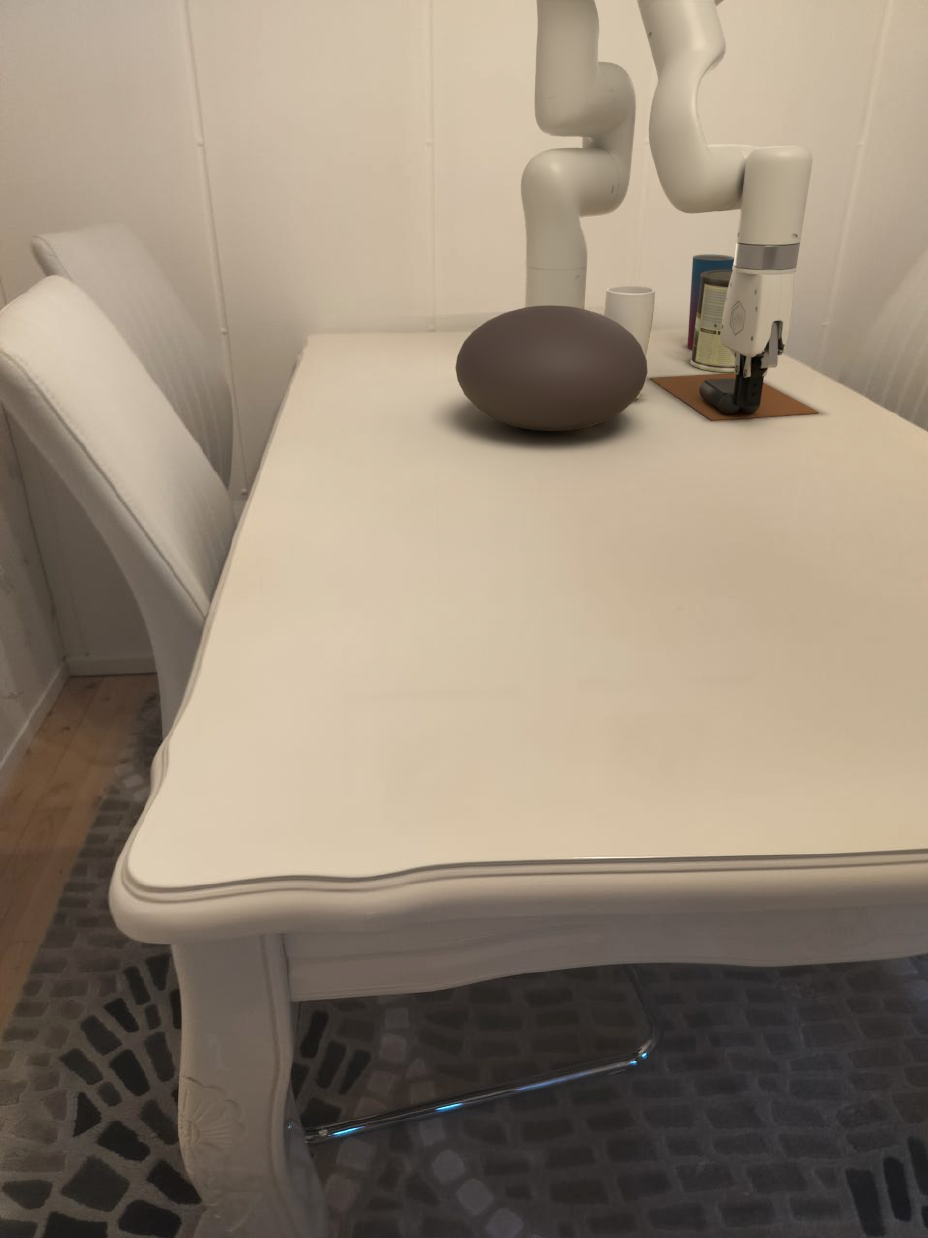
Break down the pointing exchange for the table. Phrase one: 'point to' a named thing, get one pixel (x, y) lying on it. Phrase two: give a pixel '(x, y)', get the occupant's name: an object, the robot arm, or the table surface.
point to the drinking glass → (632, 311)
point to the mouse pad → (769, 407)
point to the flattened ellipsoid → (551, 368)
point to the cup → (699, 266)
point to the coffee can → (711, 324)
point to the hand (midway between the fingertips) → (746, 404)
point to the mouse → (723, 396)
